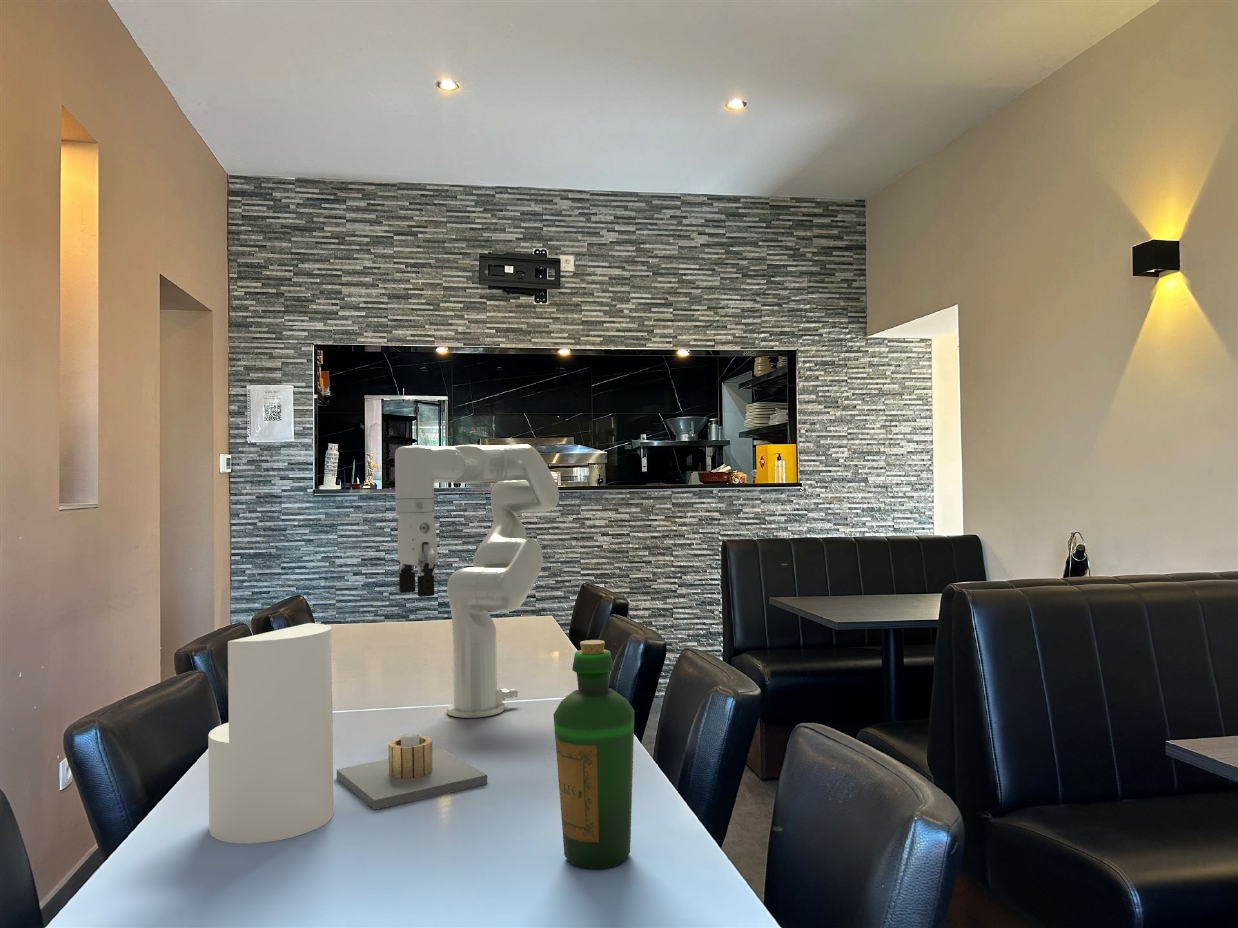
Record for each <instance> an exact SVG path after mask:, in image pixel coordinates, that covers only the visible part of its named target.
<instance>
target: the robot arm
mask: <svg viewBox="0 0 1238 928" xmlns="http://www.w3.org/2000/svg"><path fill="white" fill-rule="evenodd" d="M394 479H395V481H394V483H395V484H394V486H395V492H394V493H395V516H397V517H398V523H397V524H398V525H397V559H398V560H397V564H398V577H399V578H398V581H399V582H398V584H399V586H398V587H399V593H401V594H406V593H415V591H416V577H417V597H419V598H425V597H433V596H435V574H436V571H435V568H436V564H437V562H438V559H439V558H438V542H437V530H436V522H435V517H434V515H435V483H436V484H437V483H441V484H442V483H452V484H453V483H454V484H473V483H475V484H476V483H477V484H478V483H491V482H493V483H495V482H496V483H495V484H494V485H493V487H492V488H491V492H490V503H491V504H490V505H491V512H492V513H491V514H492V526H491V527H490V530H489V531H488V533H487V534H486V535H485V537H484V538H483V540H482V542H481V543H480V544H479V546H478V547H477V549H476V551H475V553H474V555H473V560H472V565H473V566H472V567H471V566H470V567H463V568H459V569H457V570H456V571H454V572H453V573H452V574H451V575H450V577H449V578H448V581H447V584H446V585H447V586H446V590H447V593H446V594H447V599H448V603H449V606H450V607H449V608H450V612H451V623H452V663H453V666H452V667H453V668H452V669H453V703H451V704H450V705H449V704H448V706H447V707H446V713H447V714H448V716H451V717H455V718H462V719H474V718H485V717H491V716H496V715H498V714H500V713H503V712H504V711H505V710H506V705H505V703H504V701H505V700H506V699H513V698H514V699H515V698H518V695H519V692H518V690H517V688H512V689H511V688H510V689H507V688H503V689H502V688H500V687H498V657H497V656H498V655H497V654H498V652H497V650H498V649H497V648H498V647H497V629H496V624H495V623H494V622H495V621H493V618H492V617H491V615H490V613H489V612H502V613H504V612H514V611H516V610H518V609H519V608H520V607H521V606H522V605H523V603H524V602H525V600H526V598H527V597H528V595H529V593H530V591H531V589H532V588H533V586H534V584H535V582H537V579H538V577H539V575H540V573H541V570H542V567H543V560H544V559H543V557H544V556H543V555H544V554H543V550H542V547H541V545H540V543H539V542H538V541H537V540H536V539H534V538H531V537H527V531H526V528H525V526H524V524H523V522H522V521H521V520H520V518H519V517H518V515H517V513H545V512H550V511H552V510H554V509H555V507H556V506H557V505H558V503H559V499H560V493H559V487H558V485H557V482H556V480H555V478H554V476H553V475H552V473H551V470H550V469H549V467H548V465H547V463H546V461H545V460H544V458H543V457H542V455H541V454H540V453H539V452H538V450H537V449H536V448H535V447H533V446H532V445H530V444H527V443H525V444H502V445H501V444H499V445H498V444H496V445H493V444H492V445H491V444H489V445H488V444H487V445H484V444H483V445H482V444H462V445H461V444H460V445H453V446H449V445H442V446H441V445H440V446H433V445H432V446H427V445H403V446H400V447H398V448H396V450H395V452H394ZM415 567H416V568H417V573H418V574H419V575H417V576H416V571H414V569H415Z"/></svg>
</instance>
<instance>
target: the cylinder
mask: <svg viewBox="0 0 1238 928" xmlns="http://www.w3.org/2000/svg"><path fill="white" fill-rule="evenodd" d="M332 664H333V663H332V626H331V625H329V624H324V623H315V622H314V623H313V622H307V623H304V624H299V625H294V626H290V627H285V628H280V629H276V630H272V631H268V632H263V633H259V634H254V635H250V636H246V637H240V638H236V639H232V640H228V641H227V681H228V682H227V685H228V686H227V687H228V688H227V689H228V692H227V694H228V698H227V699H228V701H227V702H228V722H226V723H225V722H224V723H223V724H220V725H217V726H216V727H214V728H213V729H212V730H210V731H209V733H208V735H207V737H208V738H207V739H208V741H207V742H208V744H207V745H208V746H207V747H208V749H207V751H208V756H207V757H208V828H209V829H208V832H209V834H210V836H211V837H212V838H214V839H216V840H218V841H221V842H226V843H230V844H231V843H232V844H244V845H245V844H263V843H268V842H269V843H270V842H276V841H282V840H286V839H290V838H294V837H295V838H296V837H297V836H301V835H304V834H307V833H311V832H312V831H315V830H316V829H318V828H320V827H323V826H324V825H325V824H327V823H328V822H330V820H331V819H332V818H333V816H334V813H335V812H334V811H335V810H334V805H335V804H334V754H333V753H334V747H333V745H334V743H333V742H334V741H333V737H334V736H333V735H334V734H333V733H334V732H333V727H332V718H333V681H332V680H333V677H332V675H333V673H332V672H333V670H332V669H333V668H332V667H333V666H332Z"/></svg>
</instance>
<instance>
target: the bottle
mask: <svg viewBox="0 0 1238 928" xmlns="http://www.w3.org/2000/svg"><path fill="white" fill-rule="evenodd" d="M605 643H606V642H605V640H600V639H590V640H589V639H588V640H586V639H585V640H583V641H582V640H581V641H580V642H579V644H580V650H577V651H575V653H574V656H573V662H572V669H571V670H572V671H573V672H574V673H576V678H577V679H576V680H577V689H574V691H572V692H571V693H569V694H568V695H566V697H564V698H563V699H562V700H561V701H560V703H559V704H558V705H557V707H556V709H555V710H554V713H553V723H554V724H553V725H554V726H553V727H554V738H555V739H554V740H555V750H556V751H555V752H556V753H555V754H556V764H557V779H558V790H559V791H558V792H559V801H560V802H559V803H560V815H561V826H562V842H563V843H562V844H563V855H564V857H565V858H566V860H567V862H569V863H570V864H573V865H575V866H577V867H581V868H584V869H596V870H600V869H607V868H611V867H614V866H617V865H618V864H620V863H622V862H624V861H625V860H627V859H628V858H629V856H630V853H631V842H632V841H631V838H632V836H631V834H632V805H633V804H632V801H633V775H634V774H633V772H634V771H633V770H634V768H633V767H634V744H635V743H634V740H635V739H634V738H635V709H634V708H633V706H632V705H631V704H630V702H629V700H628V699H627V698H626V697H624V696H623V695H622V694H620V693H619V692H617V691H615V690H614V689H612V688H609V686H610V673H611V672H612V671H613V670H614V669H615V668H614V662H613V658H612V653H611V651H610V650H608V649H605Z"/></svg>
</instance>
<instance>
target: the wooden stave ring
mask: <svg viewBox="0 0 1238 928" xmlns="http://www.w3.org/2000/svg"><path fill="white" fill-rule="evenodd" d="M432 750H433V739H432V738H431V737H429V736H423V735H419V745H414V746H401V737H398V738H394V739H393V740H390V741H389V743H388V759H389V775H390V776H391V777H393V778H399V779H402V778H403V779H411V778H417V777H422V776H425V775H427V774H430V773H431V772H432V770H433V757H432Z"/></svg>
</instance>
